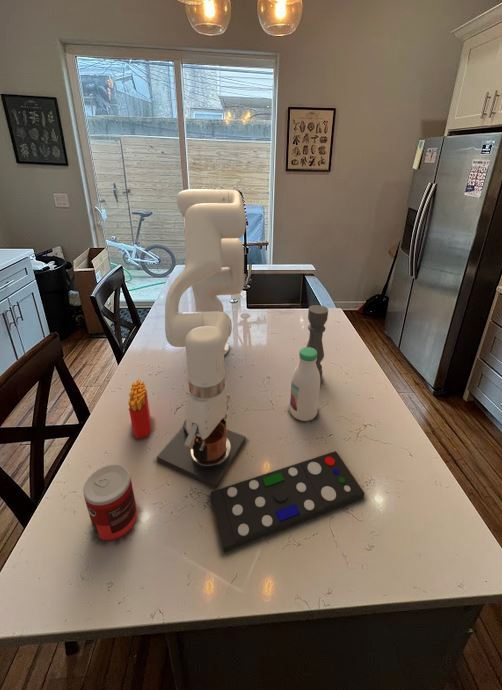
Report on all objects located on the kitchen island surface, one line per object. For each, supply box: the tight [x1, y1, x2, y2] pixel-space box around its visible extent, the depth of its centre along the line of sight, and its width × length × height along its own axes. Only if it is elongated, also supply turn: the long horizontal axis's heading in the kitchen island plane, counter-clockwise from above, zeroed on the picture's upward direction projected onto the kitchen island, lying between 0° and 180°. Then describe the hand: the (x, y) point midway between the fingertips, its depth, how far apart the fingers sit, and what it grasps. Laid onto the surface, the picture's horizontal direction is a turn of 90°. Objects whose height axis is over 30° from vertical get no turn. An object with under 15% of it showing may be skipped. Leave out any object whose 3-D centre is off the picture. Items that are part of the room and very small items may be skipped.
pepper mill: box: [306, 304, 329, 384], centre depth 101 cm, size 6×6×25 cm
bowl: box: [196, 422, 228, 461], centre depth 75 cm, size 7×7×5 cm
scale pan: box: [191, 438, 231, 467], centre depth 76 cm, size 9×9×1 cm
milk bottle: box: [289, 347, 321, 422], centre depth 89 cm, size 8×8×20 cm
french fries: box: [127, 378, 152, 439], centre depth 83 cm, size 9×4×13 cm, turn 18°
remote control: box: [210, 450, 365, 553], centre depth 69 cm, size 11×30×2 cm, turn 111°
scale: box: [156, 419, 247, 489], centre depth 79 cm, size 16×14×3 cm
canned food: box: [82, 464, 138, 542], centre depth 62 cm, size 8×8×11 cm
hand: (210, 444), depth 76 cm, fingers closed on bowl, 7 cm apart
